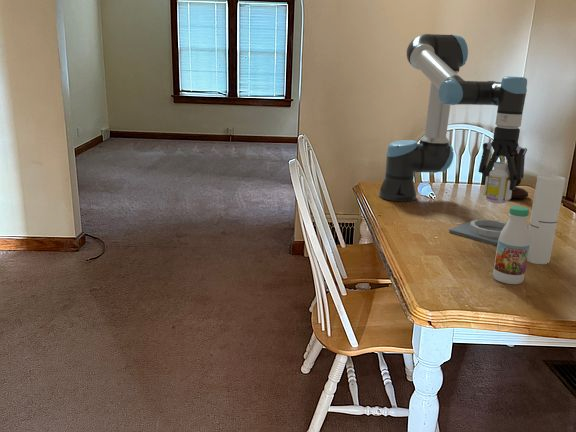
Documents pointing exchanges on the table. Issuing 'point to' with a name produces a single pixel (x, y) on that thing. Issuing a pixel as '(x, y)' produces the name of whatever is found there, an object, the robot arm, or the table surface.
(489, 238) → the collar board
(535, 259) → the cylindrical container
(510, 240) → the milk bottle
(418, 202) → the table surface
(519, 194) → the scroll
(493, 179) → the supplement bottle
